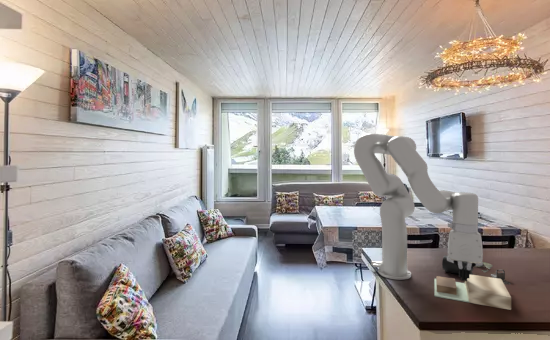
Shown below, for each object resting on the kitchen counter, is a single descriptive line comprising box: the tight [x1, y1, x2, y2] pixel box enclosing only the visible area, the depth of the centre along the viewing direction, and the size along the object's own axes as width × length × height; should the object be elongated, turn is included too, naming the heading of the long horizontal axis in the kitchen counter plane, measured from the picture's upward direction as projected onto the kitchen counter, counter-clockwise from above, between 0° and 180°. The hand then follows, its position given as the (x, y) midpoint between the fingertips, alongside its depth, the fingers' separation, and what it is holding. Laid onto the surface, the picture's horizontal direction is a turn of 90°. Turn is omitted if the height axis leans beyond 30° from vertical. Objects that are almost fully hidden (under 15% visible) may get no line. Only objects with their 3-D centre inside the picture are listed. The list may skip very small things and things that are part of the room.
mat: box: [433, 278, 469, 303], centre depth 107 cm, size 10×16×1 cm, turn 152°
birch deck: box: [464, 274, 512, 311], centre depth 102 cm, size 11×16×4 cm
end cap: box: [441, 255, 475, 275], centre depth 122 cm, size 10×7×7 cm
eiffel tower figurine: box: [473, 261, 494, 273], centre depth 131 cm, size 15×10×13 cm
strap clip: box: [490, 269, 511, 285], centre depth 115 cm, size 8×3×4 cm, turn 172°
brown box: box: [435, 275, 457, 295], centre depth 107 cm, size 6×9×2 cm, turn 152°
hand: (464, 279), depth 105 cm, fingers closed
